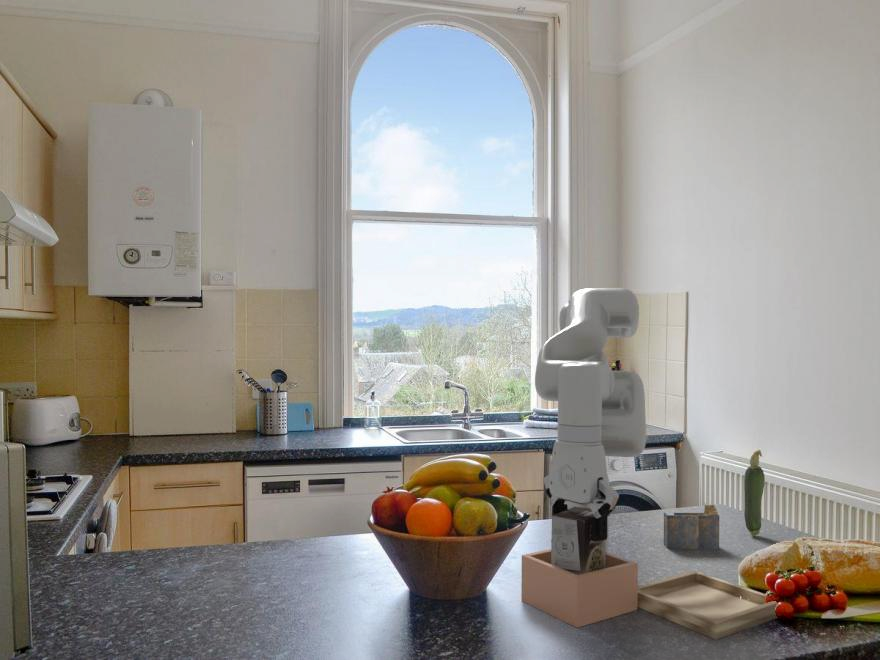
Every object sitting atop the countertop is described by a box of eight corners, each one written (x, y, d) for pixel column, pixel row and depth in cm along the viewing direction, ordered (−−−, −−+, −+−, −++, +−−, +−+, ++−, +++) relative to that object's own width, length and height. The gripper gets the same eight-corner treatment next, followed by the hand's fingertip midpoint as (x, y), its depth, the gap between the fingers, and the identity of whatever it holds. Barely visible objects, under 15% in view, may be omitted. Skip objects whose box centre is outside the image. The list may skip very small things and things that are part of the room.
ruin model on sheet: (733, 538, 172) (734, 496, 172) (763, 561, 156) (764, 514, 156) (625, 537, 172) (625, 495, 172) (643, 560, 156) (644, 513, 156)
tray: (628, 603, 130) (628, 588, 130) (695, 584, 140) (695, 570, 140) (716, 639, 115) (716, 623, 115) (784, 615, 125) (784, 600, 125)
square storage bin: (521, 600, 131) (521, 555, 131) (579, 585, 139) (580, 542, 139) (577, 627, 120) (577, 577, 120) (637, 609, 127) (637, 563, 127)
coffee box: (583, 617, 124) (584, 520, 124) (549, 608, 128) (549, 514, 128) (607, 601, 131) (607, 510, 131) (573, 593, 135) (574, 504, 135)
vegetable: (739, 533, 175) (740, 448, 175) (754, 531, 176) (755, 447, 176) (752, 538, 171) (753, 451, 170) (768, 537, 172) (769, 450, 172)
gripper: (530, 430, 134) (529, 525, 134) (600, 442, 120) (599, 549, 120) (561, 428, 138) (560, 520, 138) (632, 439, 124) (632, 542, 124)
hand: (578, 533), depth 129 cm, fingers open, 9 cm apart
